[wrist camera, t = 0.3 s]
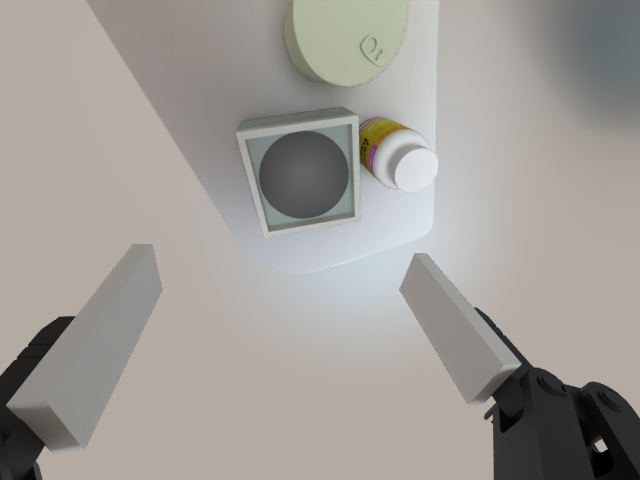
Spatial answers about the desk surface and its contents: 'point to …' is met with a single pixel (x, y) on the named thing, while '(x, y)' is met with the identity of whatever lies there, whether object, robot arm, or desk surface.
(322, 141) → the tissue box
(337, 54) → the can
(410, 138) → the supplement bottle
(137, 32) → the desk surface
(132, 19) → the desk surface
